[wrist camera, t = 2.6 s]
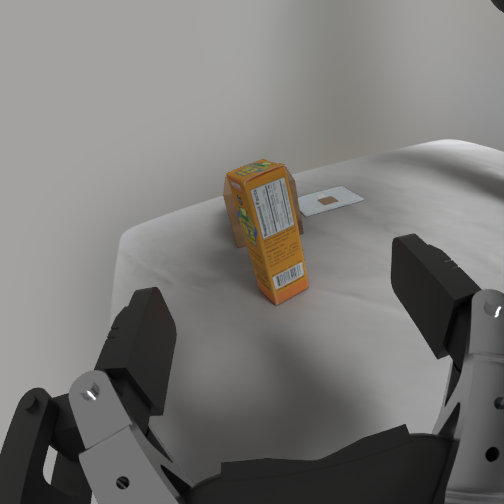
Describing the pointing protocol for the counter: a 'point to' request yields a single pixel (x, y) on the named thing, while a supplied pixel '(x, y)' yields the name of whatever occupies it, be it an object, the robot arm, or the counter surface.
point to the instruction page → (326, 200)
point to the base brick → (234, 215)
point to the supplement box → (270, 228)
